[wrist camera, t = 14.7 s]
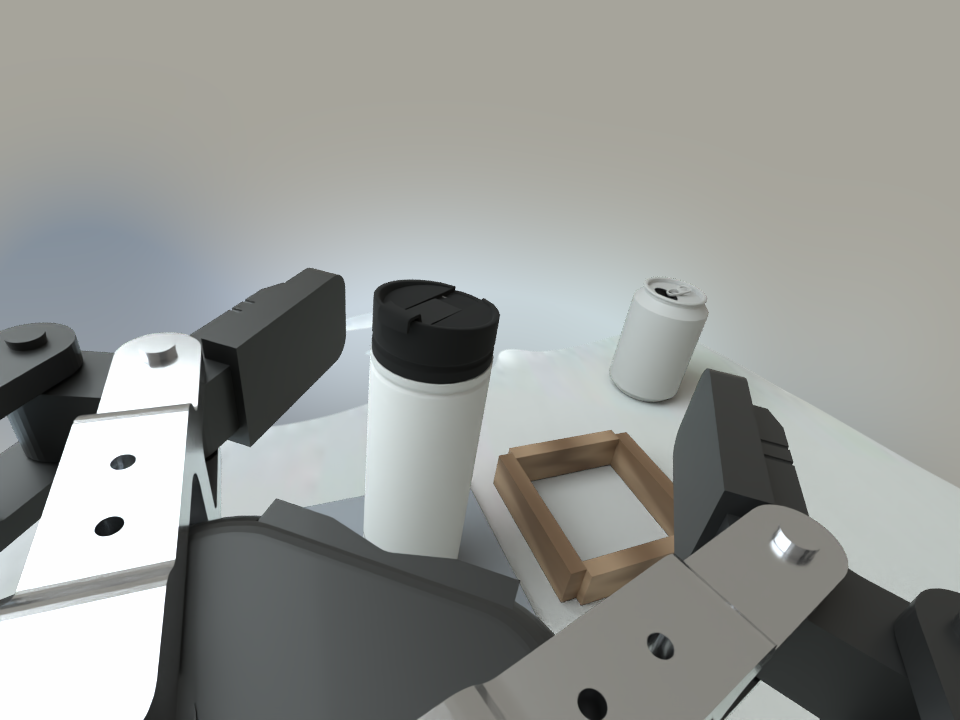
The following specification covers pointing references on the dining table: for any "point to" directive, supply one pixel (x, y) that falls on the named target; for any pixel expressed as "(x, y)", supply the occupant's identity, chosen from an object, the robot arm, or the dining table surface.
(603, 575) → the frame
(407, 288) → the travel mug
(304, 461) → the dining table surface
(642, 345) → the can
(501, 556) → the rubber mat
